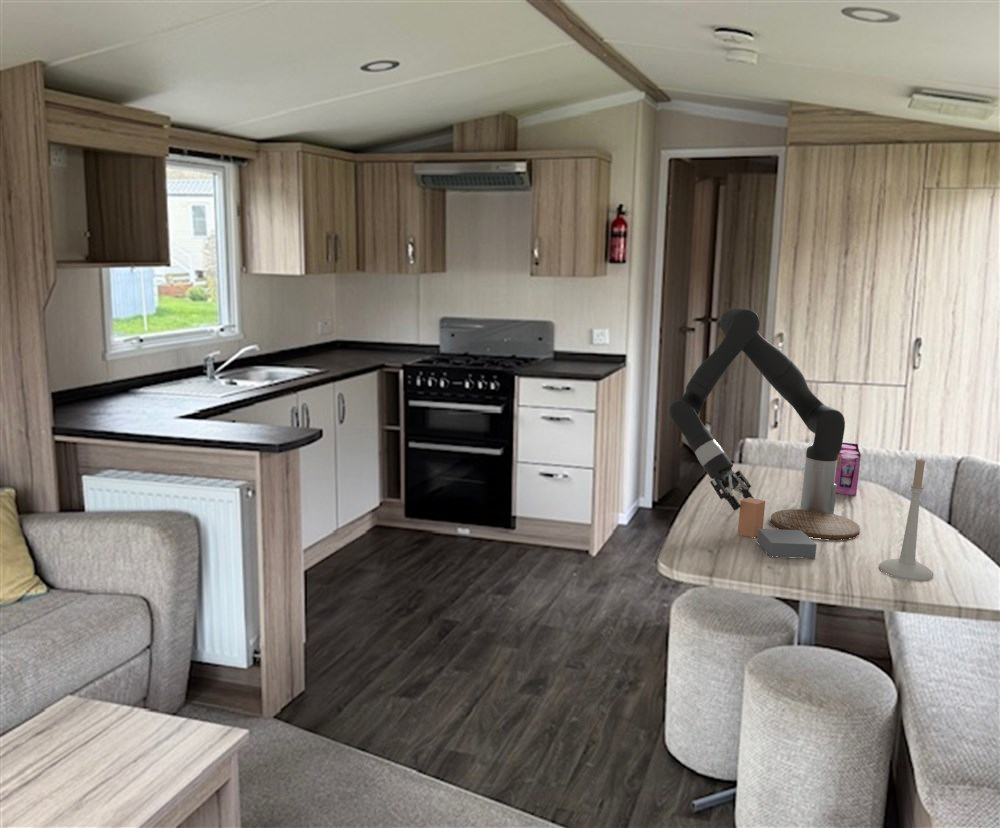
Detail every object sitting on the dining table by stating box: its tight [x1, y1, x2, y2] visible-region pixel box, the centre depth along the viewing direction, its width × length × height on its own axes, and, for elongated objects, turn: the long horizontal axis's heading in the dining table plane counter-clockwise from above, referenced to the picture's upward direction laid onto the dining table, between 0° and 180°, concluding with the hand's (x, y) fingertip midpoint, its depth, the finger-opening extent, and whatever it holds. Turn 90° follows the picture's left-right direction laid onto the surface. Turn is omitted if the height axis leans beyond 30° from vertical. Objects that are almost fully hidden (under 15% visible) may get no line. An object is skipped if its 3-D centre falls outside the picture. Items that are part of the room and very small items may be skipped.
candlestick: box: [878, 458, 934, 582], centre depth 230 cm, size 13×13×30 cm
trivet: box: [770, 508, 861, 541], centre depth 268 cm, size 25×25×2 cm
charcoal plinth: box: [756, 528, 818, 559], centre depth 245 cm, size 12×12×4 cm
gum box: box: [835, 442, 862, 497], centre depth 315 cm, size 24×8×14 cm, turn 161°
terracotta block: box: [737, 497, 766, 539], centre depth 257 cm, size 5×5×10 cm
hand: (745, 506), depth 258 cm, fingers open, 8 cm apart
